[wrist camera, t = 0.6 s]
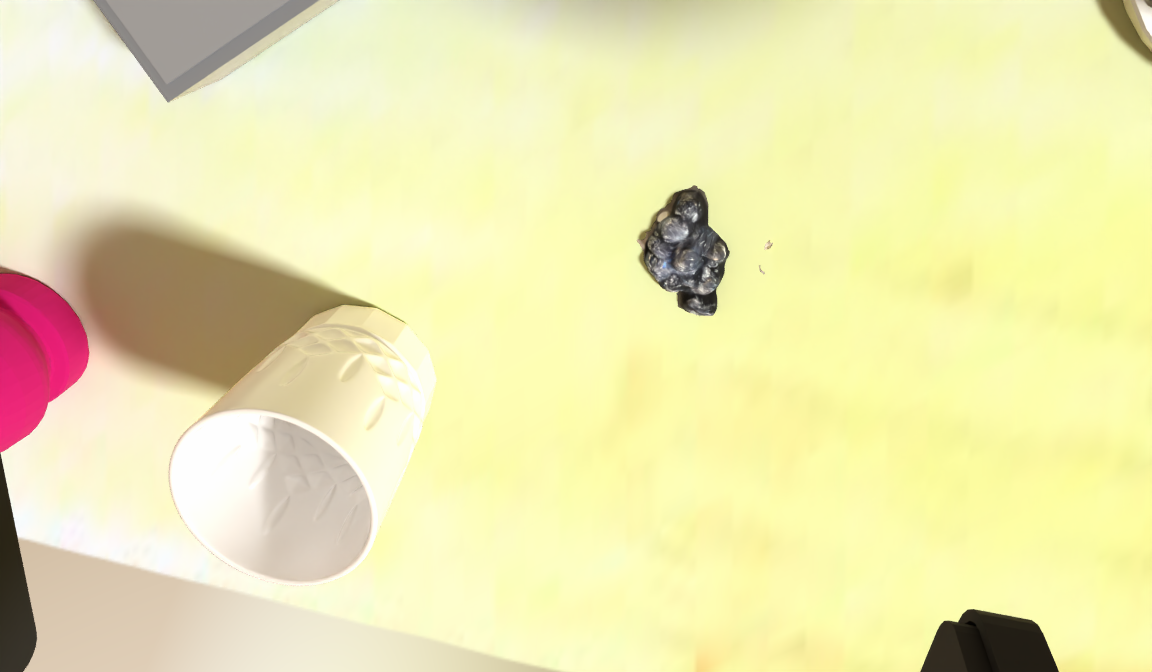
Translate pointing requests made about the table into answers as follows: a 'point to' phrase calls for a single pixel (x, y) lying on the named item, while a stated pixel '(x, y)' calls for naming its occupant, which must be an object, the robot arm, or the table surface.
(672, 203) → the blueberries
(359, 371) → the white cup
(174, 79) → the slate riser
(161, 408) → the table surface
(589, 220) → the table surface
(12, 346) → the pepper mill
